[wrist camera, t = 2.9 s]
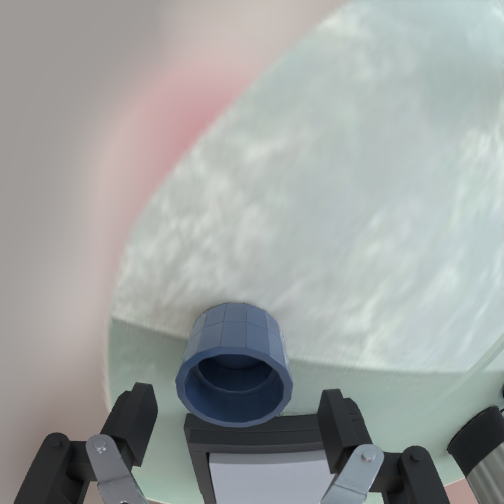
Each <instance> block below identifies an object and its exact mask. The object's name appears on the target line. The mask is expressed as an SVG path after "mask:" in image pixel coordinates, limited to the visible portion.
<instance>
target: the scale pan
mask: <svg viewBox="0 0 504 504" xmlns="http://www.w3.org/2000/svg"><path fill="white" fill-rule="evenodd" d="M209 467H210V472H211V477H212V483H213V488H214V493H215V497H216V502H217V504H319V503H320V501H321V499H322V498H323V496H324V494H325V492H326V491H327V489H328V487H329V485H330V483H331V481H332V480H333V478H334V476H335V474H330V470H329V466H328V462H327V458H326V454H325V450H316V451H306V452H294V453H275V454H230V453H211V452H210V457H209Z"/></svg>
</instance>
